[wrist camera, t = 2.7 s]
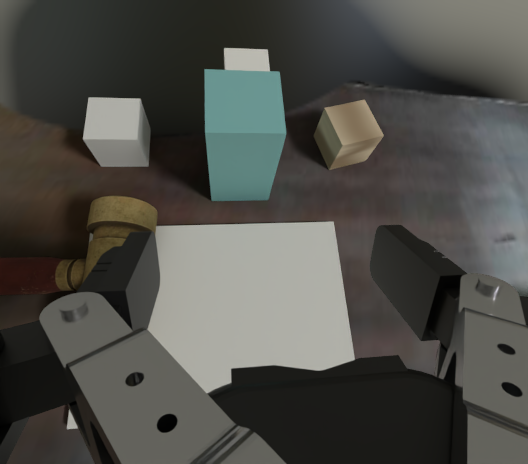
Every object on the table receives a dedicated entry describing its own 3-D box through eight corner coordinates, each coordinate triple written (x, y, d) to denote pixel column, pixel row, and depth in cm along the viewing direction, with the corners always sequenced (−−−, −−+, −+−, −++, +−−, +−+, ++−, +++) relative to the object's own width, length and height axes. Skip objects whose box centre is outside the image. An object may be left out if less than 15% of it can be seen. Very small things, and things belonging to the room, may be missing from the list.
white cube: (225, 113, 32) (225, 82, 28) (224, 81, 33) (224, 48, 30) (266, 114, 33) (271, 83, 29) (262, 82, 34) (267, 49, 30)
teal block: (211, 200, 29) (205, 132, 20) (210, 152, 30) (204, 69, 21) (268, 199, 29) (286, 133, 20) (264, 152, 31) (279, 71, 22)
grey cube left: (101, 167, 29) (82, 139, 25) (105, 129, 30) (88, 97, 26) (148, 166, 29) (137, 139, 25) (150, 129, 30) (140, 98, 27)
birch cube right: (328, 170, 31) (342, 145, 27) (313, 136, 32) (324, 108, 29) (365, 161, 32) (383, 135, 28) (348, 128, 33) (364, 99, 29)
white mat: (71, 427, 22) (66, 429, 21) (93, 230, 26) (90, 227, 26) (357, 399, 24) (360, 400, 24) (331, 224, 29) (333, 221, 28)
